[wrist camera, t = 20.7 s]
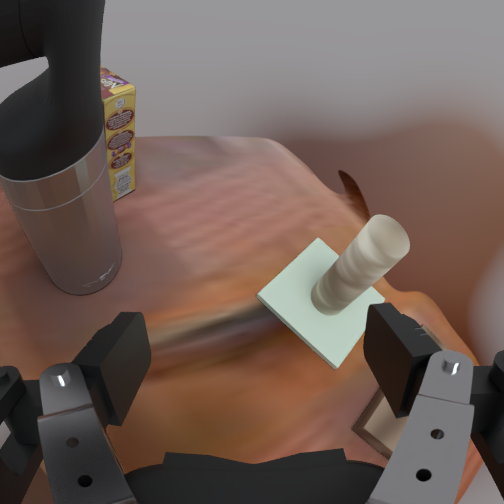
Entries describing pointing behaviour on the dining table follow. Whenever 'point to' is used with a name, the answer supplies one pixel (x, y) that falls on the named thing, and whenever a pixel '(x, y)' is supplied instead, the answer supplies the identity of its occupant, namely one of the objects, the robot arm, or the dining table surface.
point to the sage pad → (306, 315)
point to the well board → (384, 419)
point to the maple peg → (360, 264)
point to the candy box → (119, 131)
